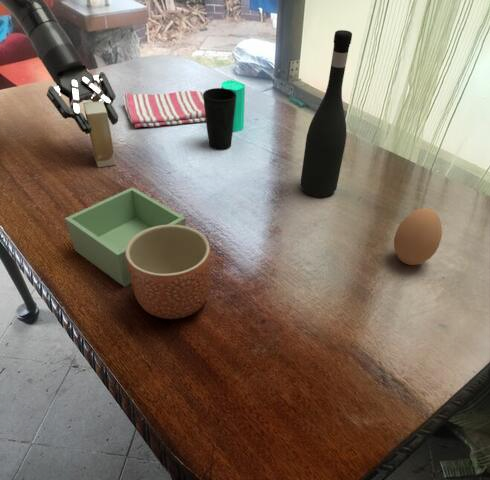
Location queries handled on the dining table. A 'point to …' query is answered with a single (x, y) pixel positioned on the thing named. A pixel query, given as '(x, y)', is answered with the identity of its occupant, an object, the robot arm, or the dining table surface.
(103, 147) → the cosmetic box
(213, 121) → the cup
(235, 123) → the candle
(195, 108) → the dish towel
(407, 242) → the egg
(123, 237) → the green open box
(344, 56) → the wine bottle
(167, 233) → the planter
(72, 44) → the robot arm
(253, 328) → the dining table surface
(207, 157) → the dining table surface
